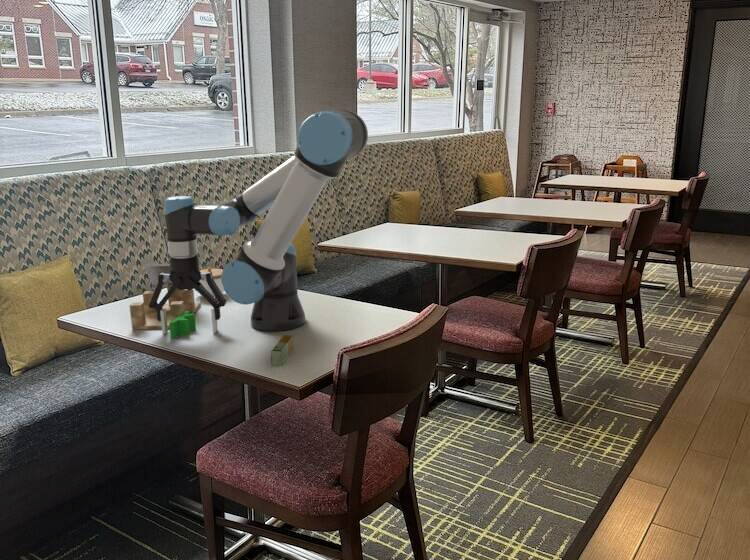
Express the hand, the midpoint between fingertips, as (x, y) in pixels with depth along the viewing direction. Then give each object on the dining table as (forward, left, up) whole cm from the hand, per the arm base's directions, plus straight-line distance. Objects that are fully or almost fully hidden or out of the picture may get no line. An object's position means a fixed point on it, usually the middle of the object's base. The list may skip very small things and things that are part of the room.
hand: (190, 331), depth 185 cm
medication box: (-27, +21, -1) cm, 34 cm away
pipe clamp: (+1, 0, 0) cm, 2 cm away
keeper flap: (+10, -21, +11) cm, 26 cm away
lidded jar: (+2, -37, 0) cm, 37 cm away
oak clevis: (+10, -14, 0) cm, 17 cm away
